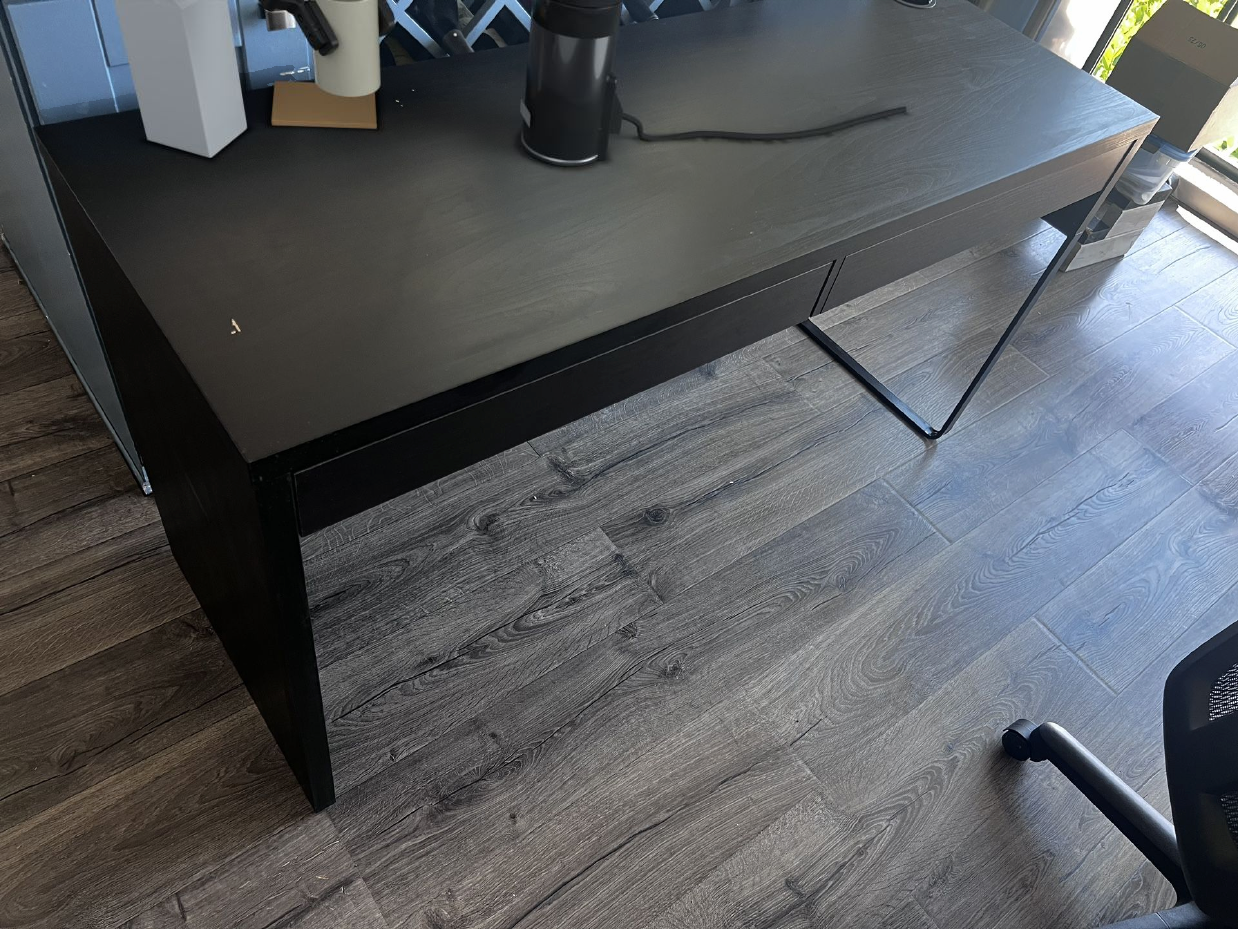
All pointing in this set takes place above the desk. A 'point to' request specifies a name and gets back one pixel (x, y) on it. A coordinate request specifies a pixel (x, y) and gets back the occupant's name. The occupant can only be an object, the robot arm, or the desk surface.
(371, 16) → the jar
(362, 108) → the mat
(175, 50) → the milk carton
